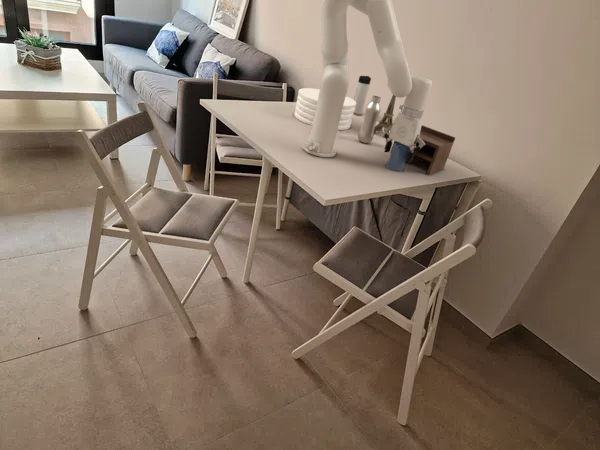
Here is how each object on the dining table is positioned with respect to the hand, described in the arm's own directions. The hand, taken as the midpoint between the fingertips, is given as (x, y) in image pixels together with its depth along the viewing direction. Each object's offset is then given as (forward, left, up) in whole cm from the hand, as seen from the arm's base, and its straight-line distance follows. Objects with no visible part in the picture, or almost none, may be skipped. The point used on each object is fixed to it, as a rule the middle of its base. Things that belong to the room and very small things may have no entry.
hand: (397, 156), depth 160 cm
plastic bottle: (+15, +24, -5) cm, 28 cm away
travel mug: (+55, +56, -5) cm, 78 cm away
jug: (0, 0, -5) cm, 5 cm away
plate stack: (+21, +53, -5) cm, 57 cm away
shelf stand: (+16, -3, -5) cm, 17 cm away
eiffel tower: (+38, +28, -5) cm, 47 cm away
